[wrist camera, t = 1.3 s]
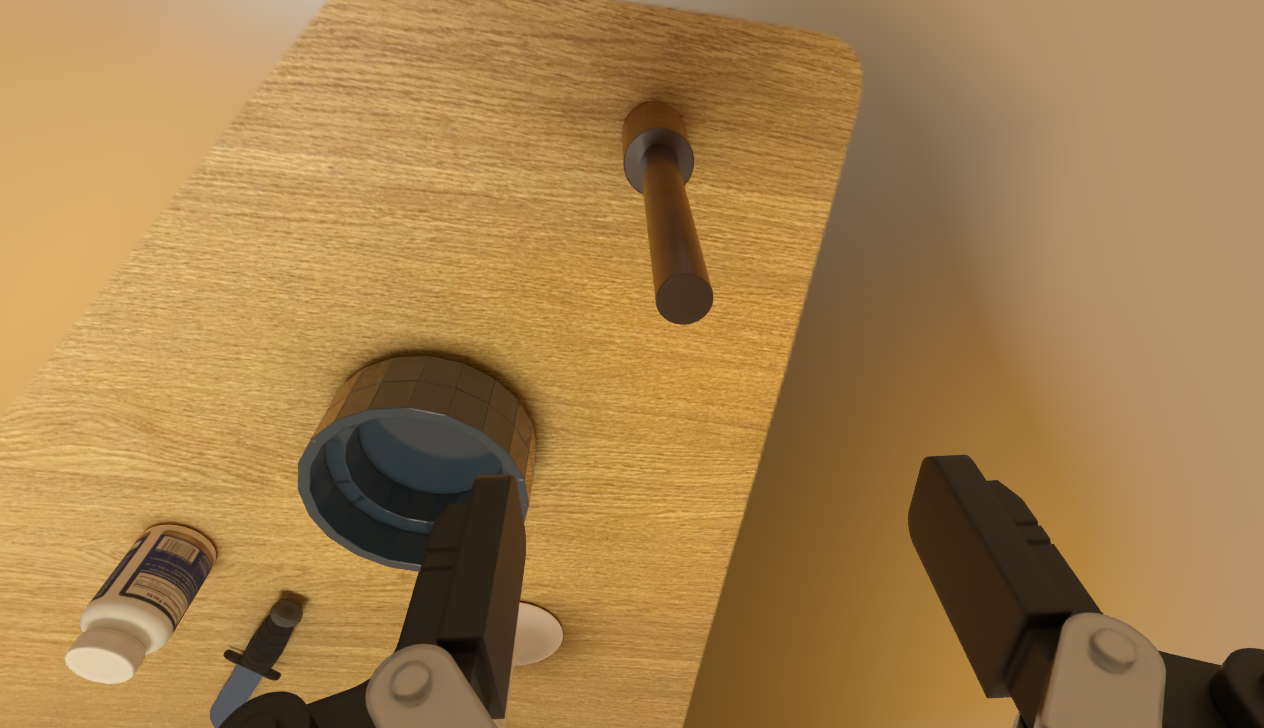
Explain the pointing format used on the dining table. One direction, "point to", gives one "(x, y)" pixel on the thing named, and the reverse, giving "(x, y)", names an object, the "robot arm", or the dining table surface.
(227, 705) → the knife
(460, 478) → the bowl
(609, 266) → the dining table surface
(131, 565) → the pill bottle
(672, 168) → the muddler
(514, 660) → the wineglass
